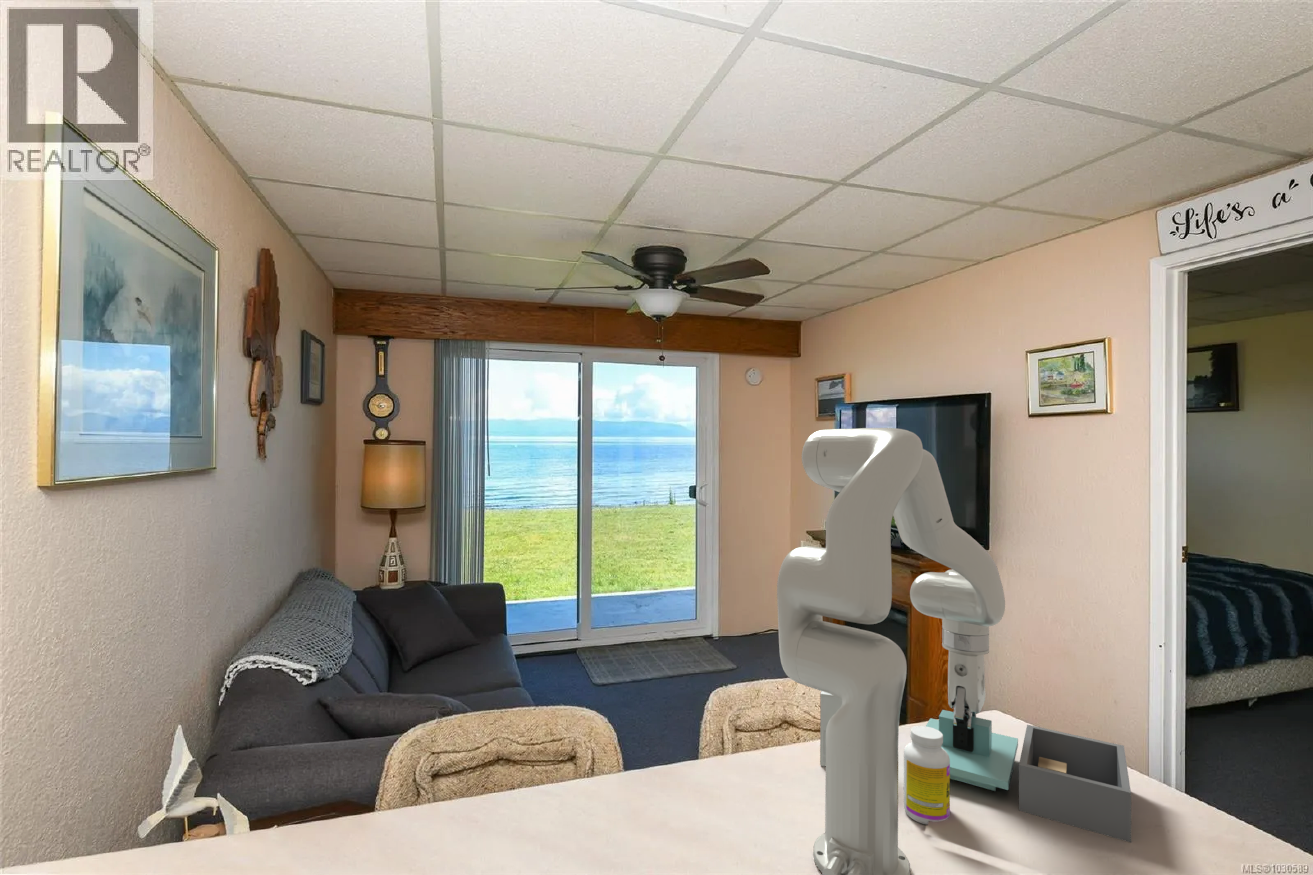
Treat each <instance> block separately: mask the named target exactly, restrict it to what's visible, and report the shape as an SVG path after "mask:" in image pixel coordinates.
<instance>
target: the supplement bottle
mask: <svg viewBox="0 0 1313 875" xmlns="http://www.w3.org/2000/svg"><path fill="white" fill-rule="evenodd" d="M910 740H911V742H908V743H907V744H906V745H905V746H904V749H903V809H904V811H905V813H906V815H907V816H908V817H909V818H911V819H912V820H913V821H916V822H917V823H920V824H922V825H929V822H943V821H945V820H948V819H949V818H950V814H951V805H950V804H951V801H950V800H951V798H950V797H951V787H950V786H951V782H950V781H951V779H950V758H949V755H948V753H947V752H946V751H945V750H944V749H943V748H941V746H942V744H943V734H942V733H941V732H940V731H938V730H937V729H934V728H931V727H927V726H926V725H916V726H915V725H914V726H912V727H910Z"/></svg>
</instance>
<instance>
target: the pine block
mask: <svg viewBox="0 0 1313 875" xmlns="http://www.w3.org/2000/svg"><path fill="white" fill-rule="evenodd" d="M1038 767H1041V768H1045V769H1049V770H1053V771H1057V772H1061V773H1065V774H1067V763H1063V762H1059V761H1055V760H1051V759H1047V758H1042V757H1039V762H1038Z"/></svg>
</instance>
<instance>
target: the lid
mask: <svg viewBox="0 0 1313 875" xmlns="http://www.w3.org/2000/svg"><path fill="white" fill-rule="evenodd" d="M966 716H967V718H968V715H966ZM953 723H954V711H950V710H945V709H942V710H941V712H940V714H939V715H938V719H936V718H931V717H930V718H929V720H928V721H927V723H926V725H925V726H927V727H931V728H934V729H937V730H938V731H940V732H941V733H942V734H943V744H942V746H941V748H943V749H944V750H945V751H946V752H947V753H948V755H949V758H950V780H955V781H958V782H962V783H966V784H968V785H972V786H976V787H980V788H983V789H987V790H991V791H994V792H996V789H997V788H999V789H1003V790H1006V791H1008V790H1009V788H1010V783H1011V779H1012V775H1013V771H1014V766H1015V762H1016V756H1017V753H1018V752H1017V751H1018V747H1019V737H1018V738H1017V737H1013V736H1008V735H1004V734H1001V733H996V732H993V730H992V729H993V728H992V725H993V724H992V723H993V721H992V720H990V719H986V718H982V717H977V716H976V717H973V716H972V728H974V749H973V752H969V751H965V750H961V749H957V748H954V747H953Z"/></svg>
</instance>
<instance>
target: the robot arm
mask: <svg viewBox="0 0 1313 875" xmlns="http://www.w3.org/2000/svg"><path fill="white" fill-rule="evenodd" d="M803 444H804V445H803V447H802V452H801V464H802V467H803V470H804V472H805V474H806V475H807V477H808V478H809V479H810V480H811V481H813V483H815V484H817V485H819V486H821V487H823V488H827V489H828V490H831V491H834V492H838V494H837V495H836V497H835V498H834V500H833V501H832V503H831V504H830V507H829V509H828V511H827V514H826V517H825V547H818V546H808V545H807V546H806V545H805V546H799V547H796V548H794V549H792V550H791V551H789V552H788V553H787V554H786V556H785V557H784V559H783V560H782V563H781V565H780V567H779V570H778V576H777V584H776V598H777V600H776V601H777V624H778V625H777V626H778V627H777V628H778V645H779V646H778V649H779V657H780V663H781V667H782V669H783V671H784V673H785V675H786V676H787V677H788V678H789V679H790V680H792V681H794V682H795V683H798V684H800V685H802V686H805V687H808V688H812V689H814V690H817V691H820V692H821V691H823V692H826V693H829V694H831V695H834V696H837V697H839V698H840V699H841V700H842V706H841V707H840V709H839V710H838V711H837V712H836V713H835V714H834V715H833V716H832V717H831V719H830V720H829V722H828V725H827V728H826V767H825V792H824V793H825V794H824V795H825V796H824V797H825V800H824V802H825V803H824V804H825V806H824V807H825V810H824V814H825V815H824V816H825V817H824V820H825V821H824V827H825V828H824V833H822V834H821V835H819V836H818V837H817V838H816V839H815V841H814V844H813V849H812V850H813V851H812V853H813V854H812V856H813V861H814V863H815V864H816V867H817V868H818V869H819V871H820V872H821V873H822V875H911V864H910V861H909V858H908V857H907V856H906V854H905V852H903V851H902V850H901V848H899V730H900V729H899V727H900V714H901V706H902V700H903V695H904V689H905V685H906V679H907V674H908V673H907V668H908V667H907V666H908V665H907V659H906V656H905V654H904V651H903V650H902V648H901V647H900V646H899V645H898V644H897V643H896V642H895V641H893V640H892V639H890V638H889V637H886V636H884V635H882V634H879V633H877V632H873V631H869V630H865V629H860V628H858V627H857V628H856V627H851V626H848V625H843V624H837V623H833V622H828V621H823V617H825V618H826V617H827V618H831V619H836V620H839V621H845V622H850V623H856V624H862V625H874V624H875V625H876V624H878V623H881V622H883V621H884V620H885V619H887V617H888V615H889V613H890V610H891V608H892V599H893V581H892V580H893V579H892V547H891V546H892V544H891V543H892V542H891V533H892V532H891V528H892V522H893V519H894V522H895V525H896V528H897V531H898V534H899V536H900V539H901V541H902V542H903V543H904V544H905V545H906V546H907V547H908V548H910V549H911V550H913V551H915V552H917V553H919V554H920V555H922V556H924V557H926V558H928V559H931V560H933V561H935V562H937V563H939V564H941V565H943V566H945V567H947V568H949V569H948V570H945V572H935V571H930V572H929V571H928V572H924V573H922V574H920V575H918V576H917V577H916V578H914V581H913V582H912V584H911V585H910V590H909V597H910V602H911V604H912V606H913V607H914V608H915V610H916V611H918V612H919V613H921V614H923V615H925V616H928V617H932V618H937V619H941V622H942V623H941V624H942V625H941V628H942V629H941V638H942V639H941V642H942V643H941V646H942V648H943V649H945V650H948V657H947V660H948V661H947V663H948V664H947V699H948V700H947V701H948V703H947V704H948V706H949V708H951V709H953V712H954V723H953V747H954V748H957V749H961V750H965V751H969V752H973V749H974V728H972V716H973V717H977V715H978V714H979V713H980V712H981V711H982V709H983V706H984V704H985V701H986V681H985V680H986V679H985V673H986V672H985V655H987V654H989V653H990V627H994V626H996V625H997V624H999V623H1000V622H1001V620H1002V619H1003V617H1004V615H1005V611H1006V599H1005V598H1006V597H1005V592H1004V587H1003V583H1002V579H1001V575H1000V571H999V569H998V566H997V563H996V561H995V560H994V559H993V557H992V555H991V554H990V553H989V552H988V551H987V549H985V548H984V547H983V546H982V545H981V544H980V543H979V542H978V541H977V540H976V539H974V538H973V537H972V536H971V535H970V534H968V533H967V532H966V531H965V530H963V529H962V528H961V527H959V526H958V525H957V524H956V523H955V522H954V517H953V514H952V511H951V507H950V504H949V500H948V497H947V493H946V490H945V485H944V482H943V479H942V475H941V473H940V470H939V469H940V468H939V467H938V463H937V460H936V459H935V457H934V456H933V454H932V453H931V452H930V451H928V450H926V449H924V448H923V447H924V446H923V443H922V440H921V438H920V437H919V436H918V435H917V434H916V433H915V432H913V431H911V430H910V431H909V430H907V429H904V428H896V427H895V428H893V427H862V428H861V427H860V428H829V429H827V428H826V429H820V430H817V431H815V432H813V433H811V434H810V435H809V436H808V438H807V439H806V440H805V442H804V443H803ZM966 715H968V718H967V716H966Z"/></svg>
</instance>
